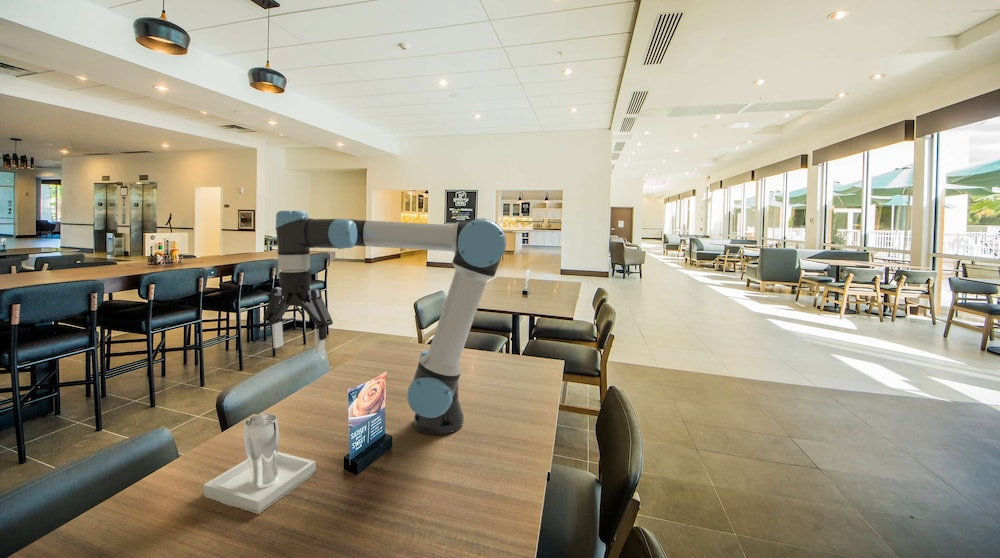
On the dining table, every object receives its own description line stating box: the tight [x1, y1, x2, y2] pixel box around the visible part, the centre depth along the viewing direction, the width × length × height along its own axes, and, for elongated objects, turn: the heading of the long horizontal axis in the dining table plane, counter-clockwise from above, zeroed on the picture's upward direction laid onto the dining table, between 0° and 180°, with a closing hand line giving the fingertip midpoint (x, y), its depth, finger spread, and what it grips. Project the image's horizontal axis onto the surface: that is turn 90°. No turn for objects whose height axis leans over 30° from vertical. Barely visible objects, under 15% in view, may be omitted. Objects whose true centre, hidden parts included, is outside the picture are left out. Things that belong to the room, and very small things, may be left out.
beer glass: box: [243, 413, 280, 489], centre depth 95 cm, size 7×7×15 cm
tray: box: [202, 451, 317, 513], centre depth 96 cm, size 16×16×3 cm
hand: (299, 349), depth 111 cm, fingers open, 13 cm apart
